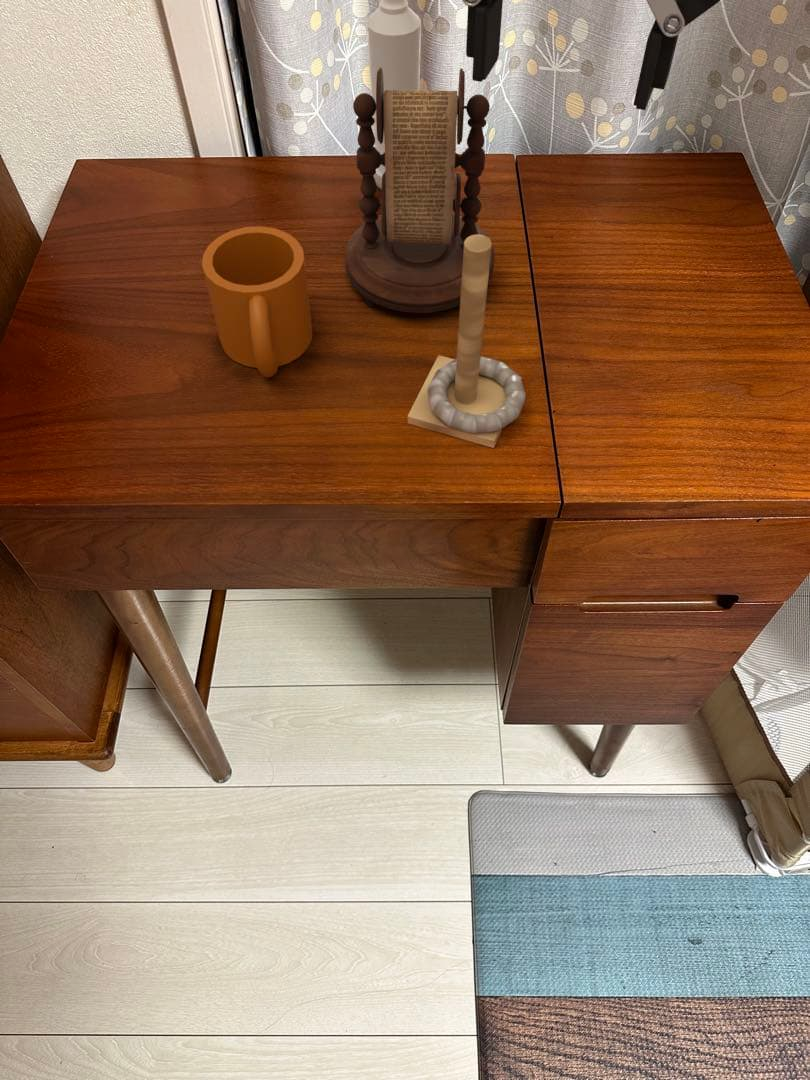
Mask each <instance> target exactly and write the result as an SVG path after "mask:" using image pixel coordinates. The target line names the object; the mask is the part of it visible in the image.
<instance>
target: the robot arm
mask: <svg viewBox="0 0 810 1080" xmlns="http://www.w3.org/2000/svg"><path fill="white" fill-rule="evenodd" d="M461 1H462V2H463V4H464V5H465V6H467V17H466V18H467V22H466V41H465V42H466V45H465V55H466V57H468V58H471V59H472V81H474V82H480V83H482V82H483V81H485V80H486V79H487V78H488V77H489V75H490V73H491V71H492V70H493V68H494V66H495V65H496V64H497V62H498V60H499V57H500V56H499V55H500V45H501V44H500V43H501V30H502V17H503V4H504V0H461ZM720 1H721V0H646V2H647V5H648V7H649V8H650V11H651V13H652V14H653V17H654V19H655V20H654V22H653V24H652V26H651V29H650V30H649V31H650V32H649V34H648V37H647V40H646V43H645V49H644V53H643V54H644V55H643V58H642V61H641V62H642V63H641V67H640V72H639V77H638V81H637V86H636V90H635V94H634V99H633V106H634V107H635V110H642V111H646V108H647V107H648V104H649V101H650V98H651V96H652V94H653V91H654V89H657V90H665V88H666V85H667V82H668V79H669V75H670V72H671V67H672V64H673V60H674V57H675V52H676V48H677V43H678V39H679V35H680V34H681V33H682V32H683V30H684V29H685V27H686V26H688V25H689V24H691V23H692V22H694V21H695V20H696V19H698V18H699V17H700V16H701V15H703V14H704V13H706V12H707V11H709V10H710V9H711V8H713V7H714V6H716V5H717V4H718V3H719V2H720Z"/></svg>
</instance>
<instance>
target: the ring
mask: <svg viewBox="0 0 810 1080" xmlns="http://www.w3.org/2000/svg"><path fill="white" fill-rule="evenodd" d="M454 359H455V360H453V361H451V362H450V363H448V364H446V365H445V366H443V367H441V368H440V369H438V370H437V371H436V373H435V375H434V377H433V379H432V381H431V383H430V385H429V387H428V390H427V392H428V397H429V401H430V405H431V409H432V412H433V413H434V414H435V415H436V416H438V417H439V418H440V419H441V420H442V421H443V422H444V423H445V424H446V425H447V426H449V427H451V428H454V429H457V430H461V431H464V432H468V433H471V434H478V433H486V432H494V431H499V430H500V429H502V430H503V429H504V428H505V427H507V426H509V424H511V423H512V422H514V421H516V420H517V419H518V418H519V416H520V414H521V412H522V410H523V407H524V405H525V402H526V400H527V395H526V391H525V387H524V384H523V382H522V377H521V376H520V375H519V374H518V373H517V372H516V371H514V370H513V369H512V368H511V367H509V365H507V364H506V363H504V362H503V361H501V360H497V359H493V358H489V357H487V356H482V355H481V359H480V369H479V375H482V376H486V377H490V378H493V379H495V380H496V381H497V382H498V383H500V384H501V385H502V386H503V387H504V388H505V392H506V395H507V398H506V400H505V402H504V405H503V406H502V407H500V408H498V409H497V410H495V411H494V412H492V413H486V414H477V415H474V414H470V413H467V412H463V411H460V410H458V409H457V408H456V407H454V406H453V405H452V404H451V403H450V402H449V401H448V397H447V393H446V391H447V389H448V387H449V385H450V383H452V382H453V381H455V376H456V361H457V358H454ZM520 377H521V378H520Z"/></svg>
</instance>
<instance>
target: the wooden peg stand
mask: <svg viewBox="0 0 810 1080" xmlns="http://www.w3.org/2000/svg"><path fill="white" fill-rule="evenodd" d="M492 246H493V243H492V241H491V239H490V238H489V236H488V237H486V236H483V235H472V236H469V237H468V238H466V240H465V241H464V251H463V267H462V282H461V298H460V305H459V314H458V315H459V316H458V329H457V331H458V332H457V345H456V358H452V357H448V356H444V355H440V354H438V356H437V357H436V359H435V361H434V363H433V365H432V367H431V369H430V371H429V373H428V375H427V376H426V378H425V381H424V383H423V385H422V387H421V389H420V391H419V392H418V394H417V397H416V398H415V401H414V402H413V404H412V407H411V408H410V411H409V413H408V414H407V424H409V425H412V426H416V427H418V428H422V429H426V430H429V431H434V432H436V433H440V434H443V435H447V436H450V437H453V438H456V439H461V440H463V441H468V442H470V443H474V444H478V445H481V446H485V447H488V448H492V449H495V447H496V444H497V442H498V441H499V437H500V434H501V432H502V430H503V428H502V429H500V430H499V431H494V432H486V433H478V434H471V433H468V432H464V431H461V430H457V429H454V428H451V427H449V426H447V425H446V424H445V423H444V422H443V421H442V420H441V419H440V418H439V417H438V416H436V415H435V414H434V413H433V412H432V409H431V405H430V401H429V397H428V392H427V390H428V387H429V385H430V383H431V381H432V379H433V377H434V375H435V373H436V371H437V370H438V369H440V368H441V367H443V366H445V365H446V364H448V363H450V362H451V361H453V360H455V359H457V361H456V376H455V381H453V382H452V383H450V385H449V387H448V389H447V391H446V393H447V397H448V401H449V402H450V403H451V404H452V405H453V406H454V407H456V408H457V409H458V410H460V411H463V412H467V413H470V414H474V415H477V414H486V413H492V412H494V411H495V410H497V409H498V408H500V407H502V406H503V405H504V402H505V400H506V398H507V395H506V392H505V388H504V387H503V386H502V385H501V384H500V383H498V382H497V381H496V380H495V379H493V378H490V377H486V376H482V375H479V369H480V359H481V356H482V349H483V337H484V328H485V327H484V326H485V317H486V307H487V297H488V287H489V286H488V285H489V282H488V277H489V267H490V257H491V247H492ZM520 378H521V379H522V376H520Z"/></svg>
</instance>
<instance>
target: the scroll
mask: <svg viewBox="0 0 810 1080" xmlns="http://www.w3.org/2000/svg"><path fill="white" fill-rule="evenodd" d="M465 84H466V75H465V71H464V69H463V68H462V67H460V69H459V74H458V89H457V90H425V89H423V90H420V89H419V90H385V93H384V81H383V69H382V68H379V70H378V71H377V82H376V102H375V100H374V98H373V97H372V96H371V94H369V93H366V92H363V93H360V94H358V95H357V96H356V97H355V99H354V100H353V104H352V108H353V112H354V114H355V116H356V117H357V118H356V120H355V124H356V125H357V126H359V131H358V135H357V144H358V146H359V147H357V149H356V168H357V169H358V170H359V174H360V176H362V177H361V178H362V179H361V183H360V186H359V187H360V192H361V194H362V196H361V197H360V199H359V200H358V206H359V210H360V211H361V213H362V215H361V220H362V221H363V222H364V223H363V224H362V225H360V227H358V228H357V229H356V230H355V232H353V234H352V235H351V237H350V239H349V240H348V242H347V245H346V247H345V253H344V254H345V255H344V258H345V271H346V274H347V277H348V279H349V282H350V283H351V285H352V286H353V287H354V288H355V290H356V291H357V292H358V293H359V294H361V296H363V297H364V300H365V303H366V304H367V305H368V306H369V307H372V306H374V305H375V304H376V305H378V306H380V307H384V308H386V309H390V310H393V311H397V312H403V313H410V314H411V313H412V314H426V313H428V314H429V313H437V312H442V311H446V310H450V309H453V308H457V307H460V298H461V282H462V267H463V251H464V241H465V240H466V238H468V237H469V236H472V235H483V236H486V237H488V238H489V236H488V235H487V234H486V233H485V231H484V230H483V229H482V228H481V227H479V225H478V224H476V223H477V222H478V221H479V216H478V215H479V213H480V212H481V210H482V201H481V199H480V197H479V195H480V193H481V190H482V189H481V183H480V179H479V177H481V176H482V173H483V171H484V170H485V163H486V151H485V149H483V147H484V145H485V135H484V131H483V128H484V127H485V126H486V125H487V120H486V119H485V118H487V116H488V115H489V112H490V109H491V107H490V101H489V100H488V98H487V97H486V96H485V95H483V94H480V93H479V94H478V93H477V94H474V95H472V96H471V97H470V98H469V99H468V101H467V103H466V105H465V93H466V92H465V90H466V88H465V87H466V85H465ZM465 110H466V113H467V116H468V117H469V119H467V125H468V127H470V130H469V132H468V135H467V138H466V145H467V148H466V149H464V151H463V152H461V155H460V154H459V153H457V152H456V151H457V145H458V146H459V145H461V143H462V142H463V134H464V117H465ZM375 111H376V124H377V139H378V141H379V142H380V144H382V143H383V134H384V143H385V153H383V154H382V155H381V154H380V152H379V151H377V149H376V148H375V147H374V144H375V137H374V133H373V124H374V123H375V120H374V118H373V117H372V116H373V115H374V113H375ZM380 165H383V166H384V167H385V172H384V173H383V175H382V190H381V197H380V198H381V202H380V199H379V198H378V196H377V195H376V193H377V190H378V186H377V184H376V181H375V178H374V174H375V173H376V169H377V168H379V167H380ZM458 167H461V169H462V170H464V171H465V172H464V173H465V176H466V177H467V179H466V181H465V184H464V187H463V192H464V195H465V196H464V197H463V198H462V200H461V193H462V192H461V190H462V189H461V187H462V185H461V184H462V183H461V182H462V181H461V179H462V178H461V174H460V172H459V171H456V173H455V170H456V169H457V168H458ZM380 207H381V209H380ZM379 210H381V212H380V213H381V214H377V213H378V211H379ZM461 213H462V214H463V215H461ZM494 262H495V250H494V247H493V245H492V247H491V257H490V267H489V277H488V283H489V282H490V280H491V278H492V275H493V270H494Z"/></svg>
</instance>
